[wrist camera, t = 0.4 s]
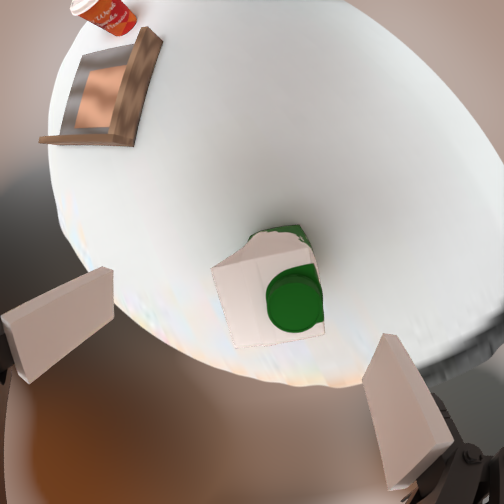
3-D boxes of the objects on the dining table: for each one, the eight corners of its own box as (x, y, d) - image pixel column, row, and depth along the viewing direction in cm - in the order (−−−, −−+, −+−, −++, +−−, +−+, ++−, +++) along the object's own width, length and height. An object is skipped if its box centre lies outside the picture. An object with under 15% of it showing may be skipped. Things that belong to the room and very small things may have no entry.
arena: (84, 56, 35) (66, 47, 30) (163, 41, 33) (147, 26, 28) (59, 145, 40) (38, 143, 34) (133, 146, 38) (112, 142, 32)
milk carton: (317, 276, 38) (335, 353, 19) (256, 288, 40) (223, 369, 21) (304, 216, 37) (316, 241, 17) (241, 231, 39) (189, 269, 19)
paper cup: (108, 46, 35) (64, 20, 21) (110, 22, 33) (71, -5, 20) (142, 29, 33) (101, -5, 20) (142, 5, 32) (106, -28, 18)
